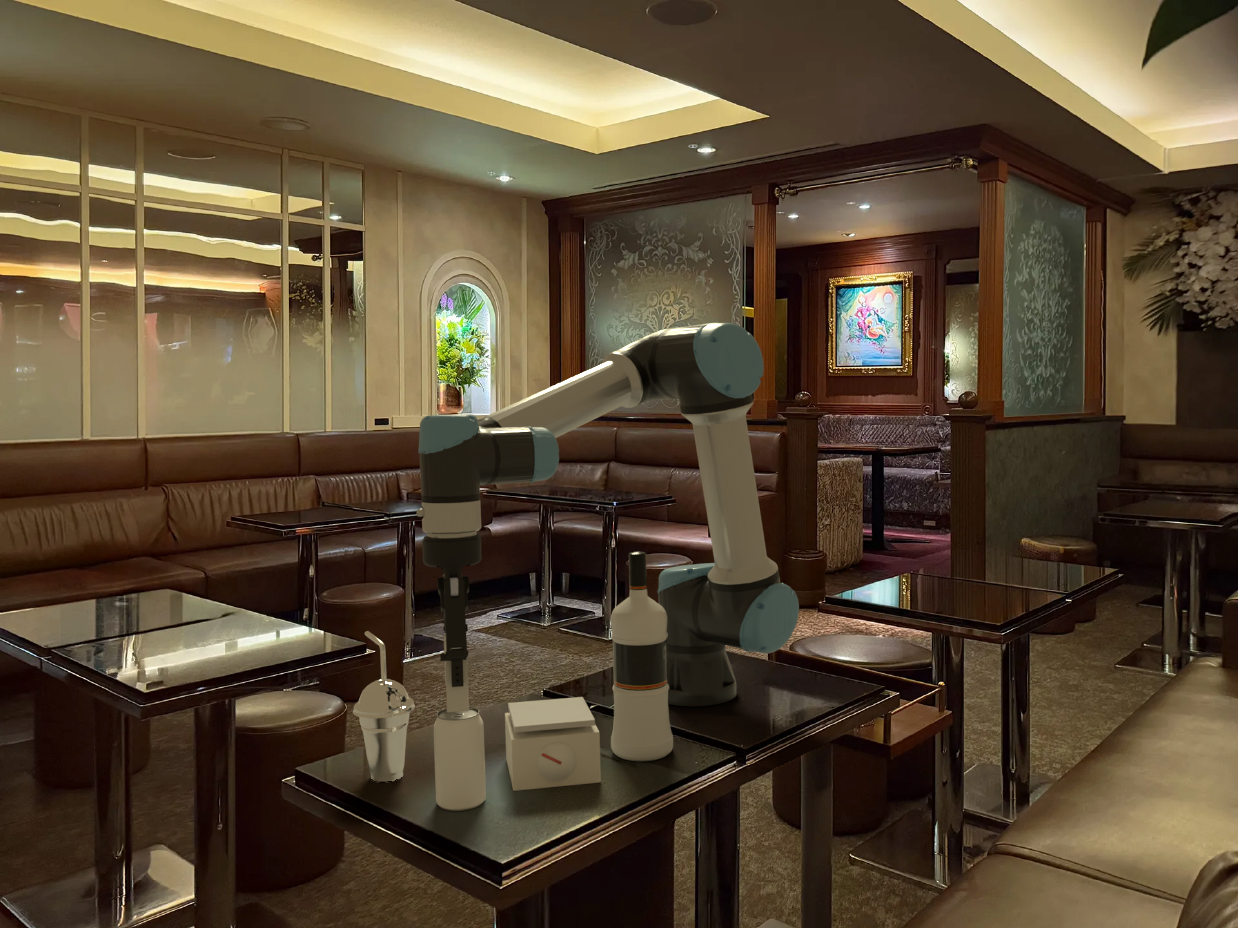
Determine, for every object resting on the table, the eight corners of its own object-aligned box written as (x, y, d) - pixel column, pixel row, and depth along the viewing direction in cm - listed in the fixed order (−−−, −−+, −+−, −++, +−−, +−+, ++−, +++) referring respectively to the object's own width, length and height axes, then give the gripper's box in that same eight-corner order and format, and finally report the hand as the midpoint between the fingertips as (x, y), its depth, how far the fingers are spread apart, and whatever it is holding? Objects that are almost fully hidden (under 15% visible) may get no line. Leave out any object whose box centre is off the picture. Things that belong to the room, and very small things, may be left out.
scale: (587, 752, 147) (585, 695, 146) (601, 784, 134) (600, 722, 134) (506, 759, 144) (504, 702, 144) (513, 792, 132) (511, 730, 131)
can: (489, 791, 132) (486, 704, 132) (481, 811, 126) (478, 719, 125) (442, 792, 133) (438, 705, 132) (431, 812, 126) (427, 720, 125)
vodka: (600, 748, 148) (595, 551, 146) (653, 737, 152) (648, 545, 151) (630, 767, 140) (624, 558, 138) (685, 755, 144) (680, 552, 142)
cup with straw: (353, 790, 134) (347, 646, 133) (358, 767, 143) (352, 631, 142) (417, 784, 136) (411, 641, 134) (417, 761, 144) (412, 627, 143)
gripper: (422, 524, 139) (427, 672, 140) (421, 547, 114) (427, 727, 115) (476, 521, 140) (480, 668, 141) (486, 544, 116) (491, 722, 117)
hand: (456, 695), depth 128 cm, fingers open, 13 cm apart
